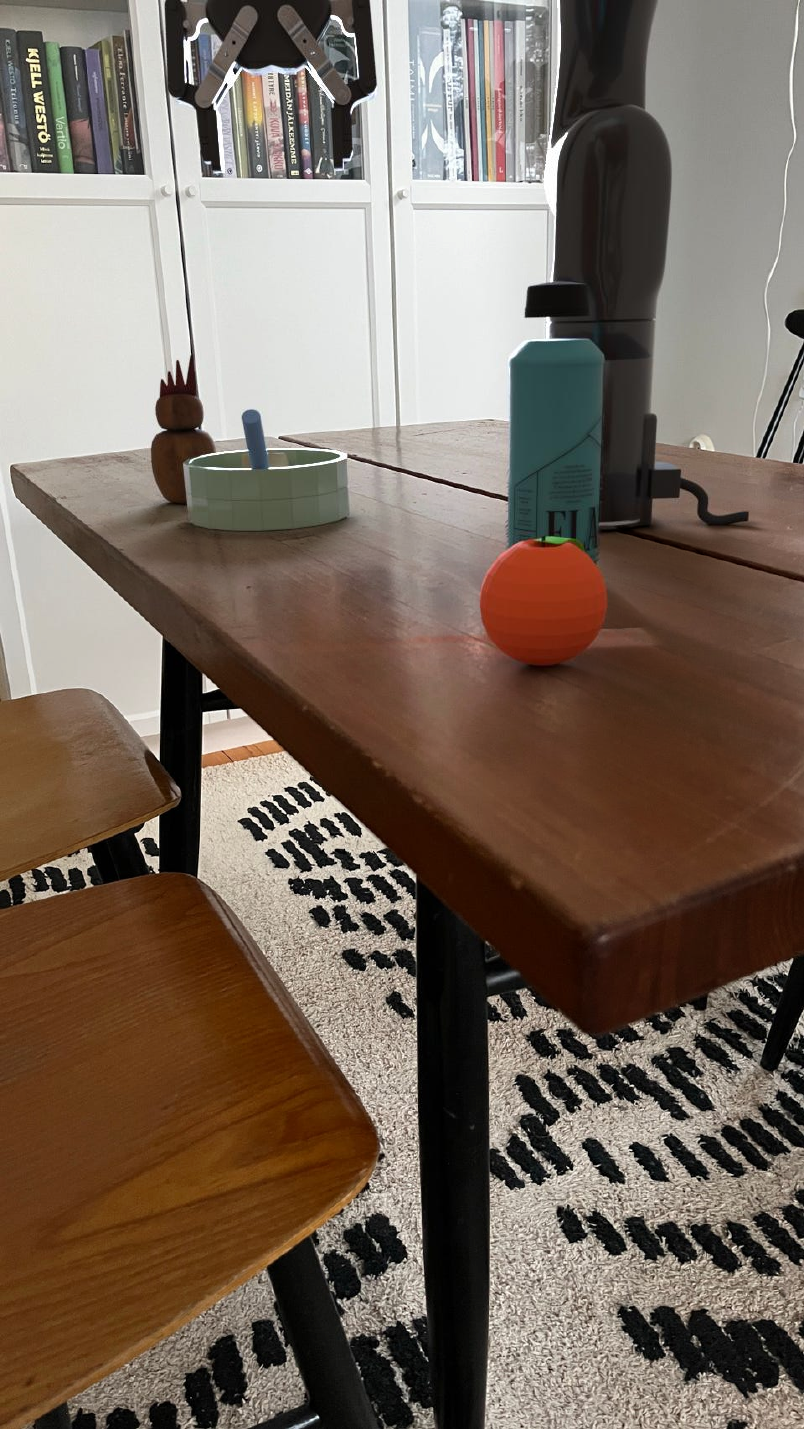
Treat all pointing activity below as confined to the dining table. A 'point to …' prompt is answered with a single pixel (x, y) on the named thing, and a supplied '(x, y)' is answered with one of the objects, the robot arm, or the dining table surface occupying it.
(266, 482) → the mint green round tray
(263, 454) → the frame with upright peg
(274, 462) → the brown block
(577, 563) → the clementine
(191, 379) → the wooden figurine
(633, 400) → the robot arm
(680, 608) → the dining table surface
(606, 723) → the dining table surface
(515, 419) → the beverage bottle
